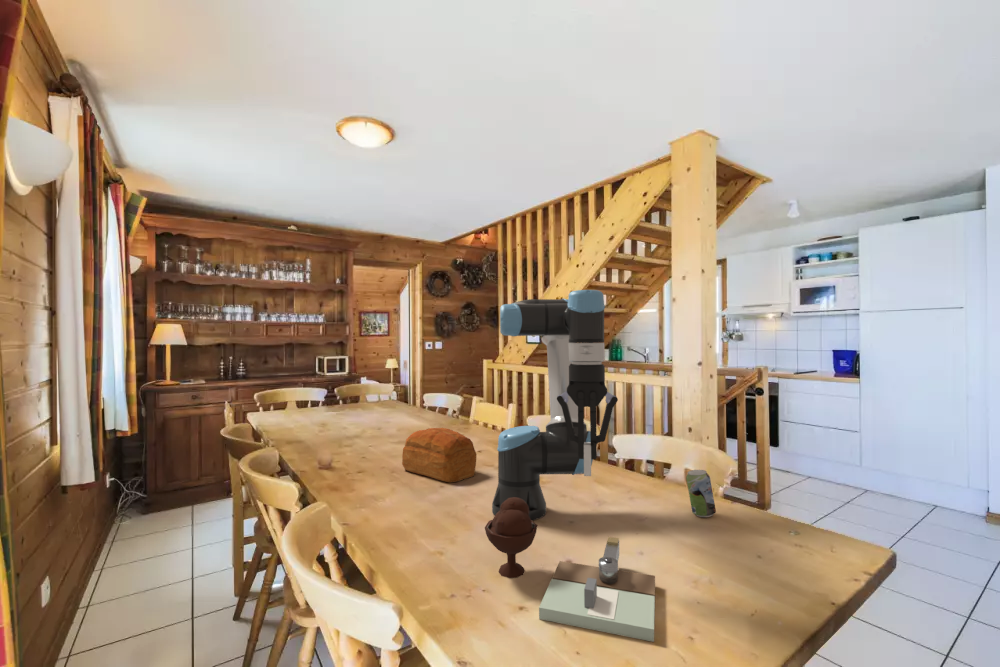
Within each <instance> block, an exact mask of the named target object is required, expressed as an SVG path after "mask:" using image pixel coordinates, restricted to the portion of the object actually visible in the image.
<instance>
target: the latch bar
mask: <svg viewBox="0 0 1000 667" xmlns="http://www.w3.org/2000/svg"><path fill="white" fill-rule="evenodd" d="M619 558H620V538H619V537H613V536H612V537H611V536H608V537H607V539H606V545H605V548H604V553H603V556H602V557H600V558H599V559H598V567H599V579H600V580H601V581H603V582H607V583H614V582H617V581H618V570H619Z"/></svg>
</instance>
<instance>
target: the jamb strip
mask: <svg viewBox="0 0 1000 667" xmlns="http://www.w3.org/2000/svg"><path fill="white" fill-rule="evenodd" d="M587 578H593V579H597V587H603V588H609V589H615V590H621V591H627V592H633V593H639V594H645V595H651V596H655V597H656V575H653V574H652V575H651V574H647V573H646V574H645V573H639V572H633V571H625V570H620V569H618V581H617V582H614V583H607V582H603V581H601V580H600V579H599V566H594V565H588V564H582V563H576V562H575V563H574V562H568V561H563V560H559V562H558V563H557V566H556V568H555V571H554V573H553V575H552V578H551V579H556V580H562V581H568V582H574V583H580V584H586V582H587Z"/></svg>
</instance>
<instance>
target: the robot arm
mask: <svg viewBox="0 0 1000 667" xmlns="http://www.w3.org/2000/svg"><path fill="white" fill-rule="evenodd" d="M604 297H605V296H604V293H603V292H602V291H601V290H599V289H579V290H572V291H571V292H569V293H568V298H567V299H566V298H561V299H555V298H554V299H551V298H549V299H547V298H544V299H538V298H537V299H533V298H531V299H523V300H519V301H516V302H512V303H505V304H502V305H501V306H500V308H499V311H500V312H499V313H500V314H499V317H500V319H499V322H500V323H499V324H500V325H499V326H500V327H499V328H500V330H499V331H500V334H501V335H502V336H508V337H509V336H510V337H526V336H527V337H528V336H534V337H536V336H540V337H541V342H542V344H543V345H545V346H546V353H547V355H546V356H547V375H548V393H549V412H550V414H549V415H550V421H549V422H548V423H547V424H546V425H545V431H541V430H540V428H539V427H538V426H536V425H520V426H516V427H510V428H507V429H504V430H503V431H501V432H500V433H499V435H498V440H497V448H496V449H497V452H498V454H497V458H498V460H497V461H498V462H497V463H498V464H497V466H498V467H497V468H498V471H497V472H498V473H497V475H498V477H497V478H498V479H497V480H498V482H497V487H496V490H495V494H494V496H493V500H492V505H491V511H492V515H493V516H495V515H496V513H498V512H499V511H500V506H501V504H502V503H503V502H504V501H505V500H507V499H508V498H512V497H517V498H521V499H523V500H524V501H525V502H526V503H527V505H528V506H529V517H530V519H531V520H532V521H536V520H539V519H541V518H543V517H545V515H547V503H546V499H545V496H544V493H543V489H542V486H541V483H540V478H541V477H540V476H541V475H573V476H575V475H581V474H583V476H584V477H592V467H593V466H592V465H593V460H597V456H598V455H597V453H598V452H597V450H598V449H597V445H598V444H599V443H602V442H603V443H604V442H605V441H606V438H607V433H608V430H609V425H610V423H611V422H610V420H611V417H612V413H613V409H614V407H615V405H616V404H617V403H618V400H619V399H618V397H617V396H616V395H614V394H612V393H610V392H609V391H608V388H607V385H606V378H605V376H606V371H605V370H606V369H605V368H606V365H604V364H603V363H602V362H605V361H606V360H605V356H606V355H605V308H606V305H605V300H604ZM604 398H605V403H606V406H605V409H604V414H603V417H602V423H601V427H600V429H599V430H600V431H599V434H598V435H597V406H599V405H600V404H601V402H602V401H603V400H604ZM585 407H587V408H589V416H590V418H589V421H590V422H589V426H590V427H589V429H590V430H587V423H585V420H584V419H585V414H584V413H585V410H584V409H585Z"/></svg>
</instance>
